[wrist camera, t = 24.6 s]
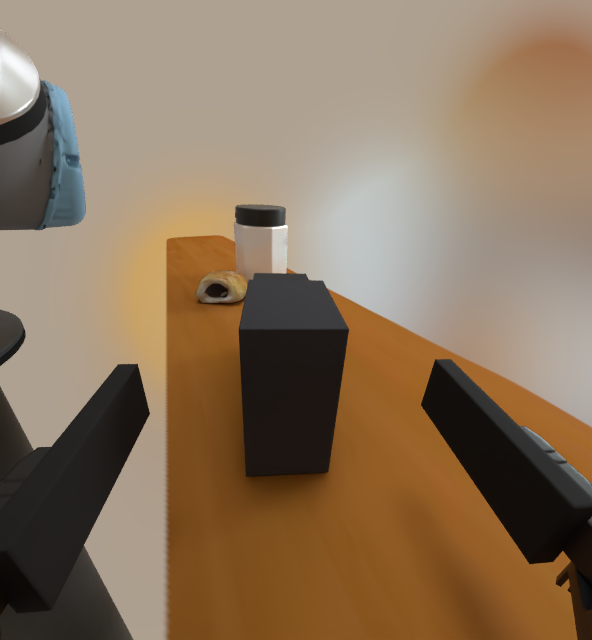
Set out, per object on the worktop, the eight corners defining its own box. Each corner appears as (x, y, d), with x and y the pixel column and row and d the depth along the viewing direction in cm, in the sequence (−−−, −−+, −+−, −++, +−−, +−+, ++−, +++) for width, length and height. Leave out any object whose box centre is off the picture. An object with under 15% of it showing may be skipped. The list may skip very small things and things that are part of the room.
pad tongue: (328, 472, 17) (349, 328, 13) (246, 476, 17) (238, 329, 12) (308, 373, 26) (316, 268, 22) (253, 374, 26) (251, 266, 21)
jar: (258, 268, 56) (257, 203, 51) (293, 276, 53) (296, 207, 47) (226, 279, 49) (222, 205, 44) (264, 289, 46) (263, 210, 40)
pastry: (215, 282, 48) (213, 260, 46) (254, 285, 48) (254, 262, 46) (193, 303, 39) (190, 277, 38) (241, 307, 39) (240, 280, 37)
